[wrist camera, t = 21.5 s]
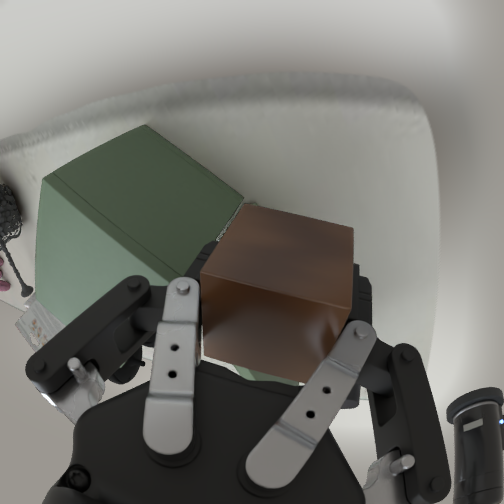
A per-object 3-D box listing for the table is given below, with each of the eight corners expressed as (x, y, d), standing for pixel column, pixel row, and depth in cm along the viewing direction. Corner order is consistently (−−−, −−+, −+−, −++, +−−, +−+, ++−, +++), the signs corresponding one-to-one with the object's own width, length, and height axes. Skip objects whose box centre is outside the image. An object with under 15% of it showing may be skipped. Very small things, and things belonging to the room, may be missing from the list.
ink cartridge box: (64, 326, 53) (37, 360, 46) (39, 285, 47) (8, 320, 40) (71, 329, 53) (44, 364, 45) (46, 287, 47) (14, 323, 39)
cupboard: (244, 197, 26) (181, 291, 17) (172, 290, 35) (120, 368, 26) (144, 123, 24) (42, 177, 15) (100, 234, 34) (35, 298, 24)
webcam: (114, 301, 41) (75, 352, 33) (156, 311, 39) (118, 369, 31) (132, 336, 45) (100, 385, 37) (171, 347, 43) (141, 401, 35)
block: (354, 227, 13) (351, 308, 9) (327, 306, 16) (314, 386, 12) (244, 202, 14) (199, 270, 10) (238, 284, 17) (203, 356, 13)
